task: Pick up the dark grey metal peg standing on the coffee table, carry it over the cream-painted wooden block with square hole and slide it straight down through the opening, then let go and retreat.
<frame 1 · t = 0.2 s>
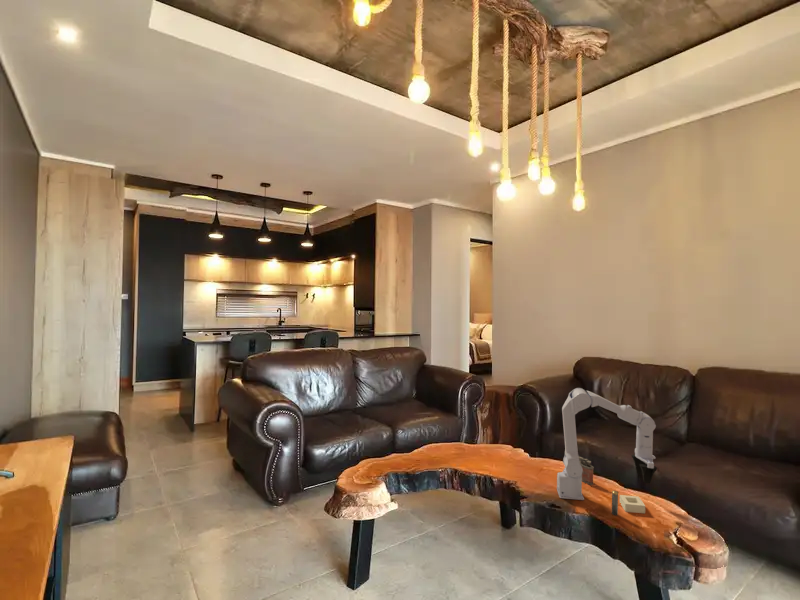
hand: (643, 478, 168), 10 cm above the table, fingers open, 7 cm apart
lighter: (584, 481, 187), on the table
block with square hole: (632, 507, 165), on the table
metal peg: (614, 513, 161), on the table
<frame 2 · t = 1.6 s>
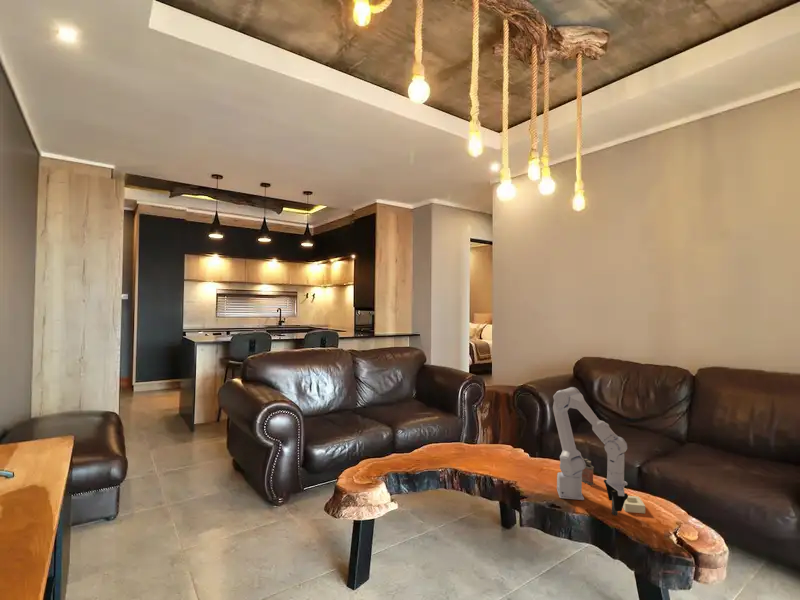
hand: (615, 505, 161), 3 cm above the table, fingers open, 7 cm apart
nothing on the table moved.
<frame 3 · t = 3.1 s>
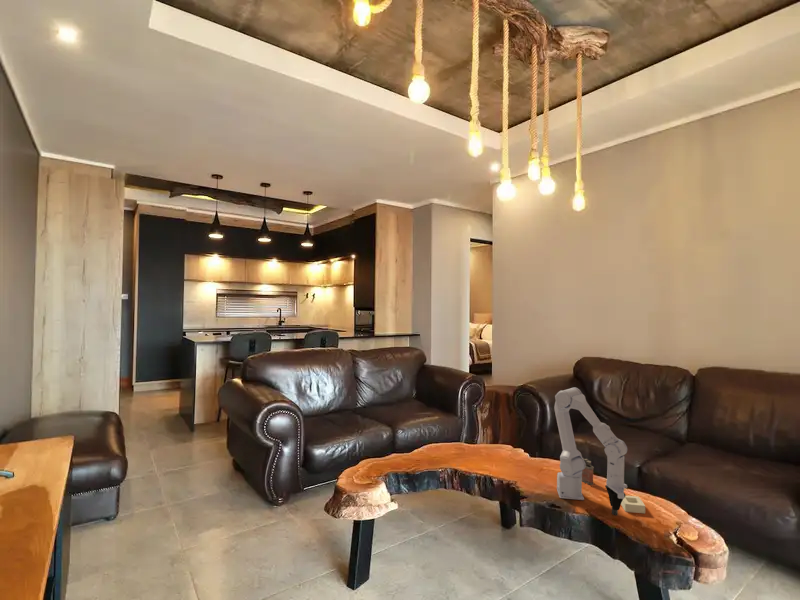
hand: (614, 507, 161), 2 cm above the table, fingers closed on metal peg, 2 cm apart
metal peg: (614, 513, 161), on the table, touching gripper
everything else where it was.
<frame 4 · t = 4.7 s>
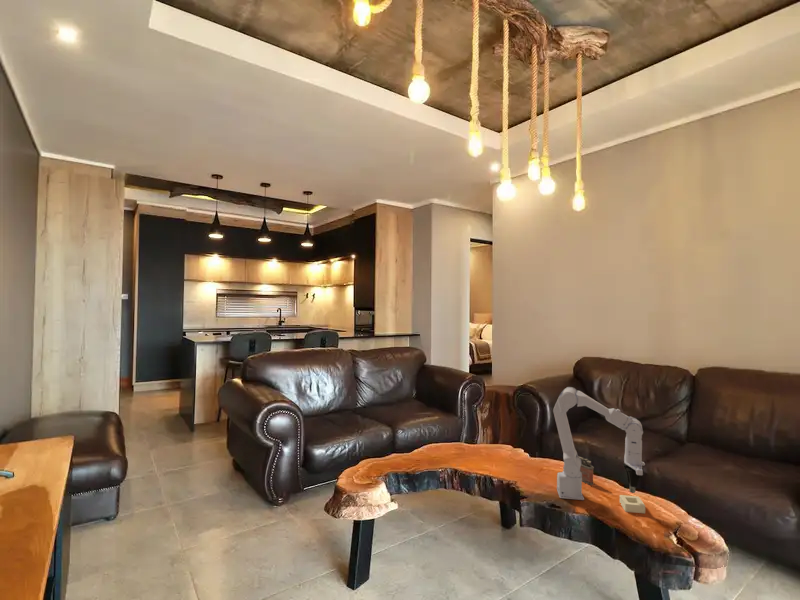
hand: (632, 485, 165), 9 cm above the table, fingers closed on metal peg
metal peg: (632, 491, 165), point 6 cm above the table, touching gripper
everything else where it was.
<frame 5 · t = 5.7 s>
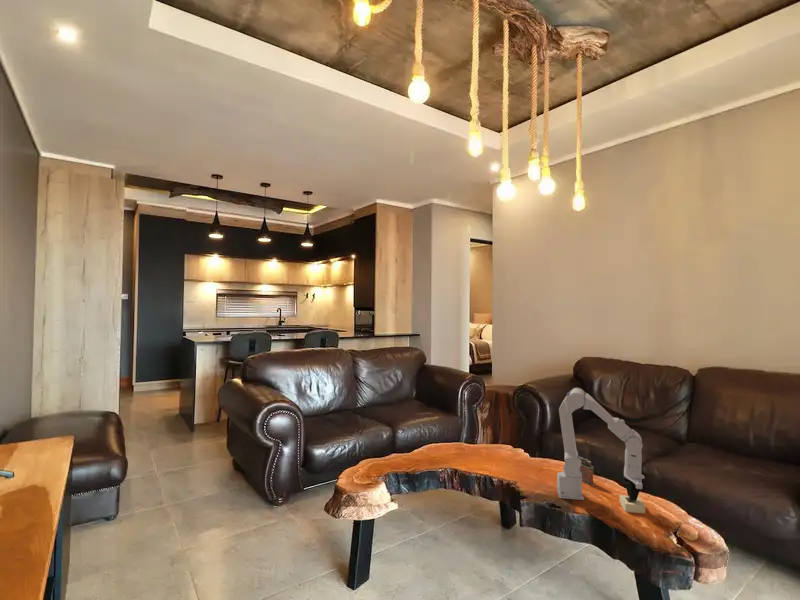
hand: (632, 498, 165), 4 cm above the table, fingers closed on metal peg, 2 cm apart
metal peg: (632, 504, 165), point 1 cm above the table, touching gripper
everything else where it was.
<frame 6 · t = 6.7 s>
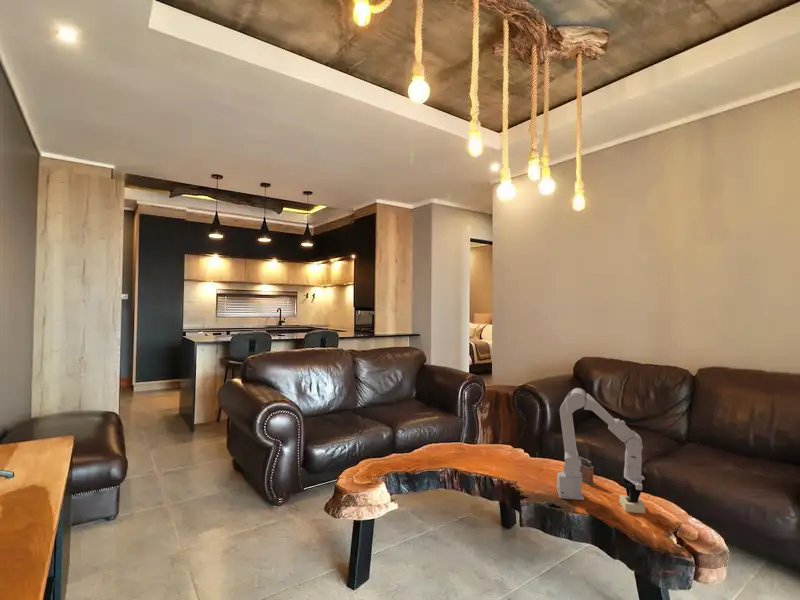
hand: (632, 499, 165), 3 cm above the table, fingers open, 4 cm apart
metal peg: (631, 507, 165), resting in block with square hole
everything else where it was.
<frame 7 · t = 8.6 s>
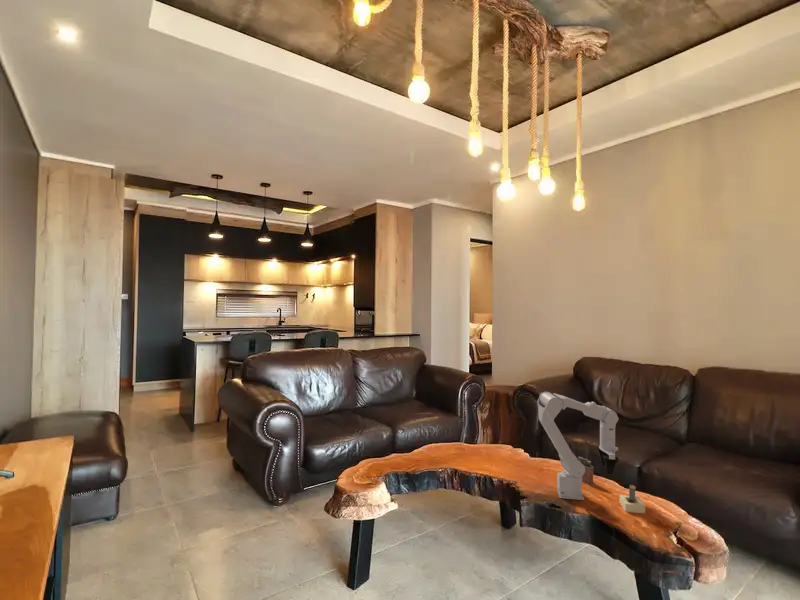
hand: (607, 469, 176), 10 cm above the table, fingers open, 7 cm apart
nothing on the table moved.
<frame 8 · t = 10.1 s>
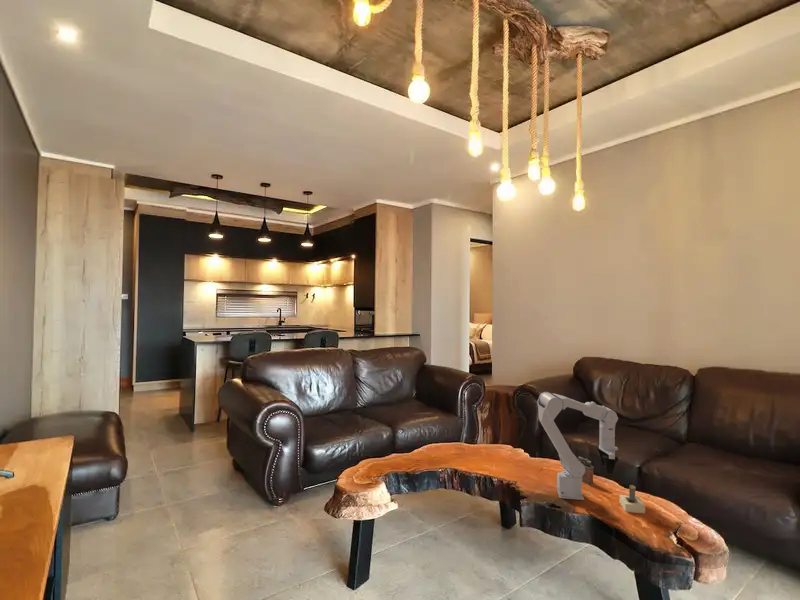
hand: (606, 468, 176), 10 cm above the table, fingers open, 7 cm apart
nothing on the table moved.
at the end: metal peg 0.1 cm off-centre on the block with square hole, point 0.0 cm above the block with square hole's base; the gripper is holding nothing; block with square hole moved 0.0 cm from its start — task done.
